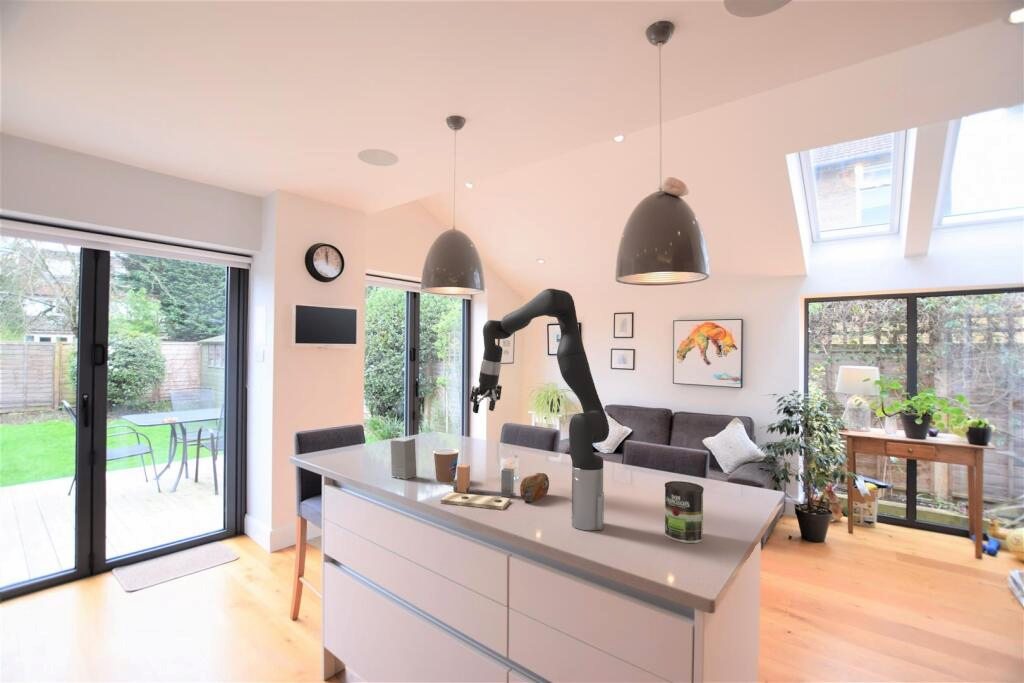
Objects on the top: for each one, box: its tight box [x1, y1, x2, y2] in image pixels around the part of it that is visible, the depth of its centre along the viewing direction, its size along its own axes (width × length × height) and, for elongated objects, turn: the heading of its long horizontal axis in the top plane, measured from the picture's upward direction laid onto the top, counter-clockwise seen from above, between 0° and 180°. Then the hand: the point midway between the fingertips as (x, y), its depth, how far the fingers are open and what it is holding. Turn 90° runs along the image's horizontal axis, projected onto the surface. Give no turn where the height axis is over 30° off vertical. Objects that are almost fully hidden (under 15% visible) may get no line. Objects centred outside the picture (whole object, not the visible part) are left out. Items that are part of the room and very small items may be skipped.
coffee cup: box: [433, 448, 460, 484], centre depth 185 cm, size 10×10×12 cm
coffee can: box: [664, 480, 705, 544], centre depth 130 cm, size 10×10×14 cm
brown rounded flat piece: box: [519, 472, 550, 503], centre depth 163 cm, size 15×3×8 cm, turn 143°
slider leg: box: [456, 464, 471, 494], centre depth 171 cm, size 4×4×9 cm
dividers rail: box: [452, 467, 517, 499], centre depth 168 cm, size 23×4×9 cm, turn 74°
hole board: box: [440, 492, 511, 511], centre depth 158 cm, size 22×9×1 cm, turn 74°
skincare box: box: [390, 437, 417, 480], centre depth 190 cm, size 8×7×16 cm
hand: (483, 411), depth 180 cm, fingers open, 8 cm apart
